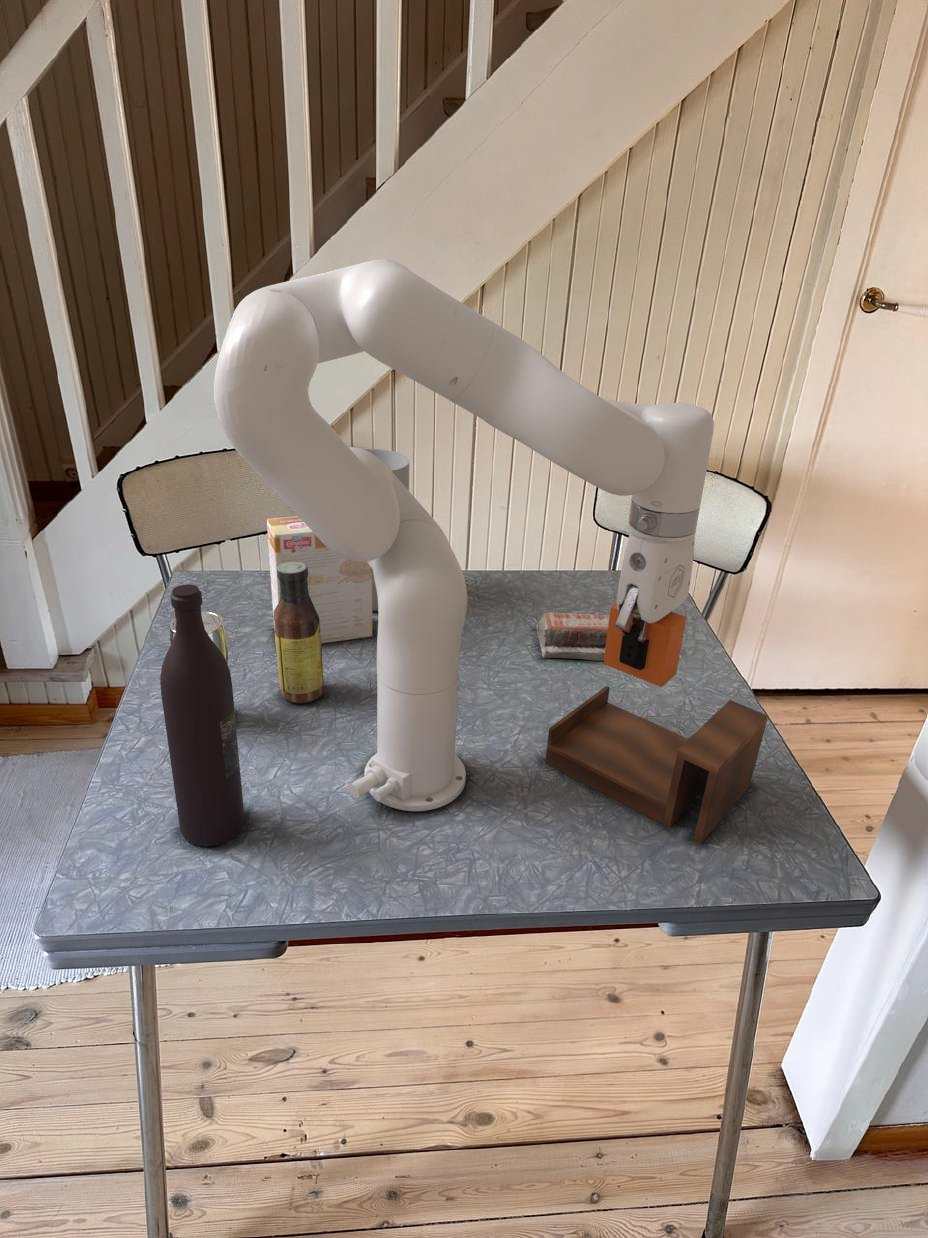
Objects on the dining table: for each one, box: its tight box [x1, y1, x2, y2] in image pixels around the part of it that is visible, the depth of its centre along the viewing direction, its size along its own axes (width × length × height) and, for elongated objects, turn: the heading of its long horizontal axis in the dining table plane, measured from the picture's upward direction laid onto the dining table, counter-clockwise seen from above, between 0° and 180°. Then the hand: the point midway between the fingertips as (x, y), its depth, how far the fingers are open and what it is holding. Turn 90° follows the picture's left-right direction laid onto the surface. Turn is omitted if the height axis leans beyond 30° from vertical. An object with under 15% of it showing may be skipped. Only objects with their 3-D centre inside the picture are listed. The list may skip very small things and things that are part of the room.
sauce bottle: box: [273, 562, 325, 704], centre depth 116 cm, size 6×6×20 cm
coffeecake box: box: [266, 515, 373, 644], centre depth 132 cm, size 15×7×20 cm, turn 111°
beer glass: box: [169, 610, 229, 666], centre depth 110 cm, size 7×7×15 cm
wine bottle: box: [159, 584, 245, 847], centre depth 89 cm, size 7×7×30 cm
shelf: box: [544, 685, 769, 844], centre depth 105 cm, size 14×22×11 cm, turn 50°
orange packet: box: [603, 602, 687, 688], centre depth 102 cm, size 4×8×8 cm, turn 50°
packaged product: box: [535, 612, 610, 662], centre depth 136 cm, size 18×5×10 cm
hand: (641, 656), depth 103 cm, fingers closed on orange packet, 4 cm apart
